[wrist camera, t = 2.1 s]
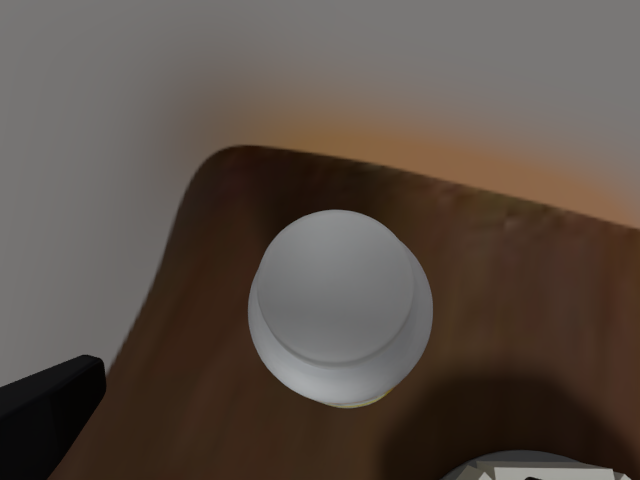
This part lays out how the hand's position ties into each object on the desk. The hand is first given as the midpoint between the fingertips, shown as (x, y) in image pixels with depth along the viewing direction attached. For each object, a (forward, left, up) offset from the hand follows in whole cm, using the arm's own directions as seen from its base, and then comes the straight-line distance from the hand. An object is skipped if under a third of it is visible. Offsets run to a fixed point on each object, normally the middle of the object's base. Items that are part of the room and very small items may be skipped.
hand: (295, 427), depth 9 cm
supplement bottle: (+3, +2, -11) cm, 12 cm away
